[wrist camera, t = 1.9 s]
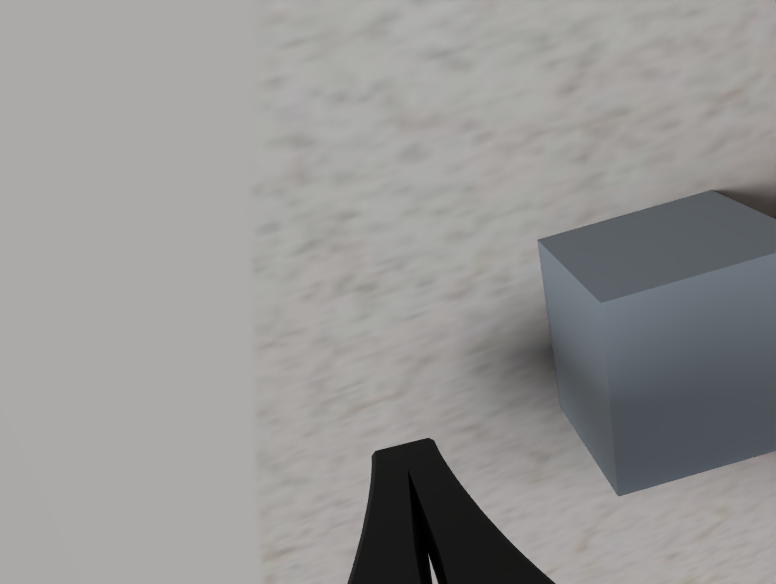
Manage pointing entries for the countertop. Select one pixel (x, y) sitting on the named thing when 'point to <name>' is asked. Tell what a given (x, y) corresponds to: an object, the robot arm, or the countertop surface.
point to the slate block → (666, 337)
